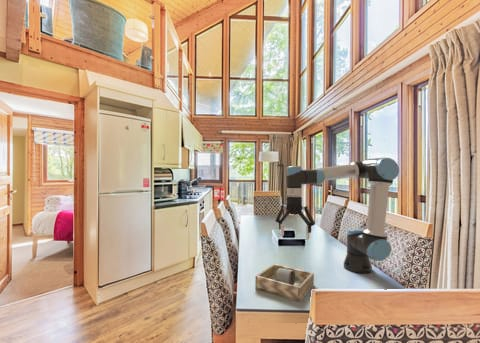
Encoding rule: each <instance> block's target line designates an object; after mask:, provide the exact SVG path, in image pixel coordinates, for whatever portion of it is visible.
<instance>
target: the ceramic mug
mask: <svg viewBox="0 0 480 343" xmlns="http://www.w3.org/2000/svg"><path fill="white" fill-rule="evenodd" d="M295 277H296V276H295V272H294V271H293V270H289V269H283V268H279V269H277V271H276V273H275V280H276V281H279V282H283V283H287V284H291V285H294V283H295Z"/></svg>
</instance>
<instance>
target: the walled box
mask: <svg viewBox="0 0 480 343" xmlns="http://www.w3.org/2000/svg"><path fill="white" fill-rule="evenodd" d="M279 268H283V269H289V270H293V271H294V272H295V276H296V277H295V283H294V285H291V284H287V283H283V282H279V281H276V280H275V273H276V271H277V269H279ZM314 275H315V273H314V272H311V271H308V270H307V271H306V270H302V269H298V268H294V267H289V266H286V265H280V264H277V263H272V264H271V265H270V266H268V267H267V268H265V269H264V270H262V271H261V272H260V273H258V274H256V275H255V285H254V286H255V289H256V290H259V291H262V292H266V293H269V294H271V295H275V296H278V297H281V298H286V299H289V300H291V301H296V302H298V303H301V301H303V299H304V297H306V295H307V294H308V293H309V292H310V290H311V289H312V288H313V287H314V283H315V280H314V278H315V276H314ZM311 287H312V288H311ZM310 288H311V289H310Z"/></svg>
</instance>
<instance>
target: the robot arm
mask: <svg viewBox="0 0 480 343" xmlns="http://www.w3.org/2000/svg"><path fill="white" fill-rule="evenodd" d="M399 174H400V167H399V165H398V163H397V162H396V161H395V160H394V159H392V158H391V157H378V158H377V157H375V158H368V159H364V160H358V161H353V162H350V164H343V165H335V166H326V167H318V168H310V169H309V168H308V169H302V166H301V165H296V166H295V165H291V166H287V167H286V174H285V175H286V204H281V206H280V210H279V212H278V214H277V215H276V218H275V222H276V223H278V230H280V237H283V236H285V223H284V221H285V220H286V218H288V217H289V215H297V216H299V217H300V218H301V219H302V221H303V222H304V223H305V224H306V226H305V228H306V229H305V230H306V231H305V234H306V240H307V241H309V240H310V234H311V233H312V226H314V225H316V222H315V220H314V218H313V216H312V215H311V212H310V210H309V209H310V208H309V205H306V206H303V197H302V195H303V194H302V193H303V192H302V191H303V190H302V186H303V185H322V184H323V183H324V182H325V181H331V180H333V181H334V180H340V179H349V178H352V179H365V180H366V179H367V183H369V184H370V188H369V189H370V190H369V197H368V198H369V201H368V207H367V218H366V228H364V229H363V228H349V229H347V233H346V255H345V259H344V261H343V268H345V269H346V270H347V271H350V272H353V273H358V274H369V273H372V272H373V266H372V262H371V260H373V261H377V262H380V261H381V262H383V261H384V260H386V259H387V258H388V257H389V256H390V255H391V253H392V252H391V251H392V246H391V244H390V243H389V241H388V234H386V232H385V228H386V221H387V208H388V199H389V198H388V197H389V188H390V187H391V186H392V185H393V182H394V180H395V179H396V178H397V177H398V176H399ZM286 209H287V210H286ZM285 210H286V212H285ZM303 211H304V212H305V214H304V213H303ZM284 212H285V213H284ZM283 213H284V215H283ZM282 215H283V216H282Z"/></svg>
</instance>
